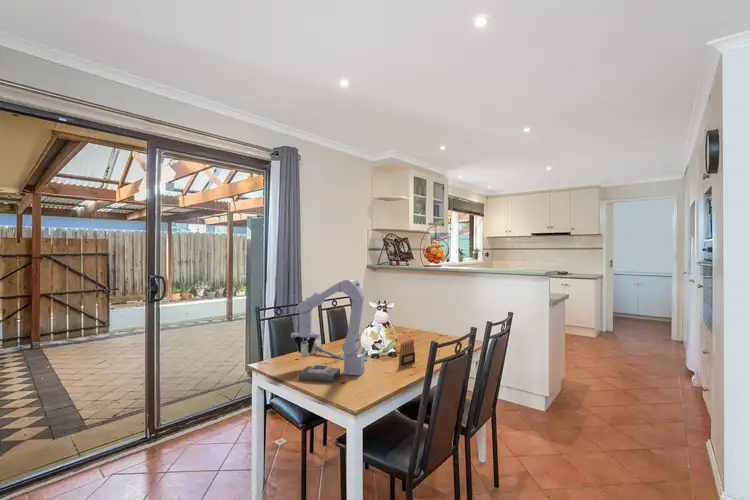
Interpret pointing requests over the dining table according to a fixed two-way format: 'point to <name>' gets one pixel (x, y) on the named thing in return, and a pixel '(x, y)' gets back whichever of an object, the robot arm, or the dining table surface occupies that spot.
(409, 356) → the ammunition clip
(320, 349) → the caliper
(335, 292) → the robot arm
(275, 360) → the dining table surface
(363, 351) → the metal bracket
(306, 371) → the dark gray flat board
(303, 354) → the white capped cylinder
